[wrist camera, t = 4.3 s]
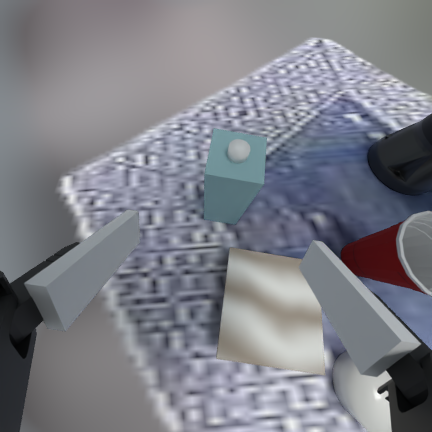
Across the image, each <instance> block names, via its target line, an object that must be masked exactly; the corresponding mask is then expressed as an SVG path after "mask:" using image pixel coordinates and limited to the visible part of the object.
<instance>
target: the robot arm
mask: <svg viewBox="0 0 432 432" xmlns="http://www.w3.org/2000/svg"><path fill="white" fill-rule="evenodd" d="M368 160H369V164H370V167H371V169H372V170H373V172H374V173H375V175H376V176H377V177H378V178H379V179H380V180H381V181H382V182H383V183H384V184H385V185H387V186H388V187H390V188H391V189H393V190H395V191H397V192H400V193H403V194H407V195H419V194H422V193H425V192H428V191H431V190H432V114H430V115H429V116H427V117H426V118H424V119H423V120H421V121H419V122H417V123H415V124H413V125H410V126H408V127H406V128H403V129H401V130H399V131H397V132H394V133H392V134H390V135H387V136H385V137H383V138H382V139H380V140H379V141H378V142H376V143H375V144H374V145H372V146H371V148H370V150H369V153H368ZM139 243H140V230H139V214H138V211H134V210H126V211H125V212H124V213H122V214H121V215H119V216H118V217H117V218H115V219H114V220H112V221H111V222H110V223H108V224H107V225H105V226H104V227H103V228H101V229H100V230H98V231H97V232H95V233H94V234H93V235H91V236H90V237H88V238H87V239H86V240H84V241H83V242H81V243H78V242H76V243H74V244H71V245H69V246H67V247H64V248H63V249H61V250H60V251H58V252H57V253H55V254H54V256H51V257H49V258H48V259H46V261H43V262H42V263H40V264H39V265H37V266H36V267H34V268H33V269H31V270H30V271H28V272H27V273H25V274H24V275H22V276H21V277H19V278H18V279H16V280H15V281H13V282H12V283H10V284H9V282H8V280H7V278H6V277H5V275H4V273H3V272H1V271H0V432H19V431H20V425H21V420H22V415H23V409H24V403H25V397H26V391H27V386H28V380H29V375H30V368H31V363H32V358H33V352H34V346H35V341H36V335H37V333H36V329H35V328H36V327H37V326H38V325H39V324H40V323H41V322H42V321H44V323H45V324H46V327H47V328H48V329H53V330H60V331H66V330H67V329H68V328H69V327H70V325H71V324H72V323H73V322H74V321H75V319H76V318H77V317H78V316H79V315H80V313H81V312H82V311H83V310H84V309H85V307H86V306H87V305H88V304H89V303H90V301H91V300H92V299H93V298H94V297H95V295H96V294H97V293H98V292H99V291H100V289H101V288H102V287H103V286H104V285H105V284H106V282H107V281H108V280H109V279H110V278H111V276H112V275H113V274H114V273H115V272H116V270H117V269H118V268H119V267H120V266H121V264H122V263H123V262H124V261H125V260H126V258H127V257H128V256H129V255H130V254H131V252H132V251H133V250H134V249H135V248H136V246H137V245H138V244H139ZM299 269H300V271H301V273H302V274H303V276H304V278H305V279H306V281H307V283H308V285H309V286H310V288H311V290H312V292H313V293H314V295H315V297H316V298H317V300H318V302H319V304H320V305H321V307H322V309H323V310H324V312H325V314H326V316H327V317H328V319H329V321H330V323H331V324H332V326H333V328H334V329H335V331H336V333H337V335H338V336H339V338H340V340H341V342H342V343H343V345H344V347H345V348H346V350H347V352H348V354H349V355H350V357H351V359H352V360H353V362H354V364H355V366H356V367H357V369H358V371H359V373H360V374H361V375H367V376H373V377H378V376H379V375H381V374H382V373H383V372H385V371H387V372H388V374H389V375H390V377H391V378H392V379H390V380H389V381H388V382H386V383H385V384H383V385H382V386H380V387H379V388H378V390H377V393H379V394H380V395H381V394H382V393H384V392H385V391H388V396H387V397H385V399H386V400H387V401H389V407H390V418H391V430H392V432H432V350H431V349H430V348H429V347H428V346H427V345H426V344H425V343H424V342H423V341H422V340H421V339H420V338H419V337H418V336H417V335H416V334H415V333H414V332H413V331H412V330H411V329H410V328H409V327H408V326H407V325H406V324H405V323H404V322H403V321H402V320H401V319H400V318H399V317H398V316H396V315H395V313H394V312H393V311H392V310H391V309H390V308H388V306H387V305H386V304H385V303H384V302H383V301H382V300H381V299H380V298H379V297H378V296H377V295H376V294H374V293H373V292H372V291H370V290H369V289H368V288H367V287H366V286H365V285H364V284H363V283H362V282H361V281H360V280H359V279H358V278H357V277H356V276H355V275H354V274H353V273H352V272H351V271H350V270H349V269H348V268H347V267H346V265H345V264H344V263H343V262H342V261H341V260H340V259H339V258H338V257H337V256H336V255H335V254H334V253H333V252H332V251H331V250H330V249H329V248H328V247H327V246H326V245H325V244H324V243H323V242H321V241H315V240H312V242H311V244H310V246H309V248H308V250H307V252H306V254H305V256H304V258H303V260H302V262H301V264H300V266H299Z"/></svg>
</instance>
